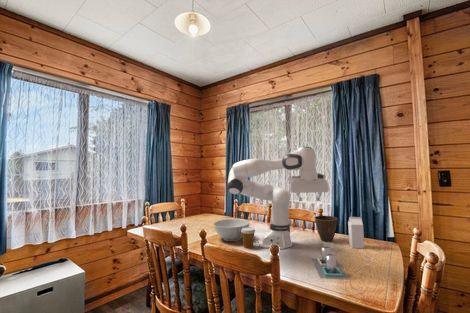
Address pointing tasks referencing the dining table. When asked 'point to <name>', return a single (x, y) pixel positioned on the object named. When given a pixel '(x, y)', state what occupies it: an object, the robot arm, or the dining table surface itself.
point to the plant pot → (326, 227)
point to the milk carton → (356, 232)
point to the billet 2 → (331, 264)
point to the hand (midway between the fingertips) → (309, 200)
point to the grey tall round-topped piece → (325, 253)
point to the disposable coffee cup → (248, 237)
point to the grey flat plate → (323, 273)
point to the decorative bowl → (230, 228)
